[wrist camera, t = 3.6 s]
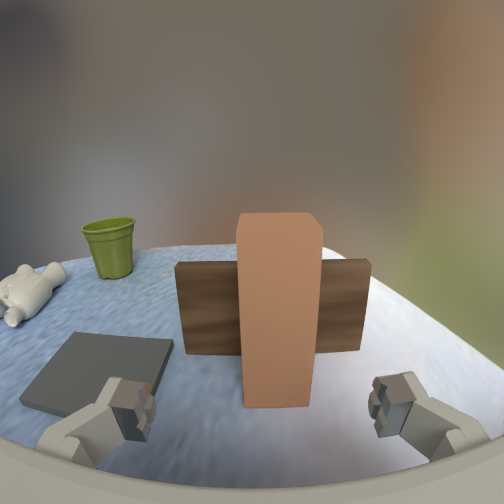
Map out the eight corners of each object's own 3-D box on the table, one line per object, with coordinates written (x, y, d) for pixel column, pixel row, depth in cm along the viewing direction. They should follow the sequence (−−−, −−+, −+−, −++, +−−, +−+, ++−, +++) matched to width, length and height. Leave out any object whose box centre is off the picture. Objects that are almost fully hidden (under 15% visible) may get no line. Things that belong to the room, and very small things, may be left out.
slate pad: (140, 432, 19) (137, 426, 19) (22, 404, 20) (18, 398, 20) (173, 345, 31) (172, 339, 31) (76, 337, 31) (74, 331, 31)
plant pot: (98, 289, 44) (88, 234, 41) (83, 273, 50) (75, 225, 48) (151, 273, 50) (144, 221, 47) (129, 260, 57) (123, 214, 54)
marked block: (308, 406, 22) (322, 229, 18) (244, 408, 23) (236, 230, 18) (301, 366, 28) (309, 211, 23) (246, 367, 28) (240, 212, 23)
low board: (359, 350, 29) (371, 264, 26) (186, 353, 30) (174, 268, 27) (355, 341, 31) (366, 258, 28) (188, 344, 31) (178, 261, 28)
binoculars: (69, 285, 46) (63, 258, 45) (28, 334, 31) (17, 301, 30) (22, 287, 45) (15, 262, 43) (-24, 332, 30) (-35, 301, 28)
